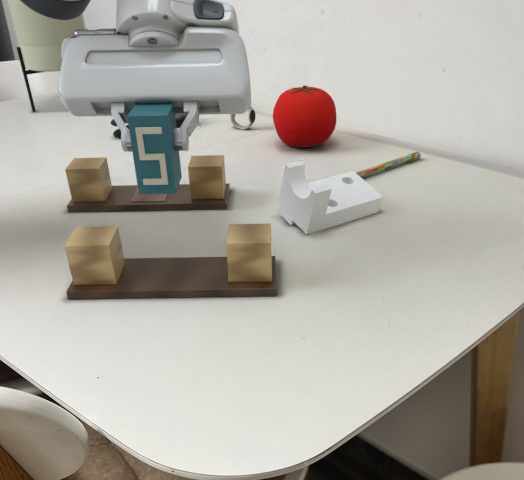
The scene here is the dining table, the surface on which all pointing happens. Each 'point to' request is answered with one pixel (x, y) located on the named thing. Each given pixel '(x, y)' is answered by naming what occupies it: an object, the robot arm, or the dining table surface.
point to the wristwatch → (250, 116)
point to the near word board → (170, 267)
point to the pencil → (389, 164)
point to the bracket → (324, 199)
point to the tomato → (304, 116)
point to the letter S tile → (154, 148)
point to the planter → (40, 40)
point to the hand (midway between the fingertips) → (155, 148)
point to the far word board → (128, 198)
